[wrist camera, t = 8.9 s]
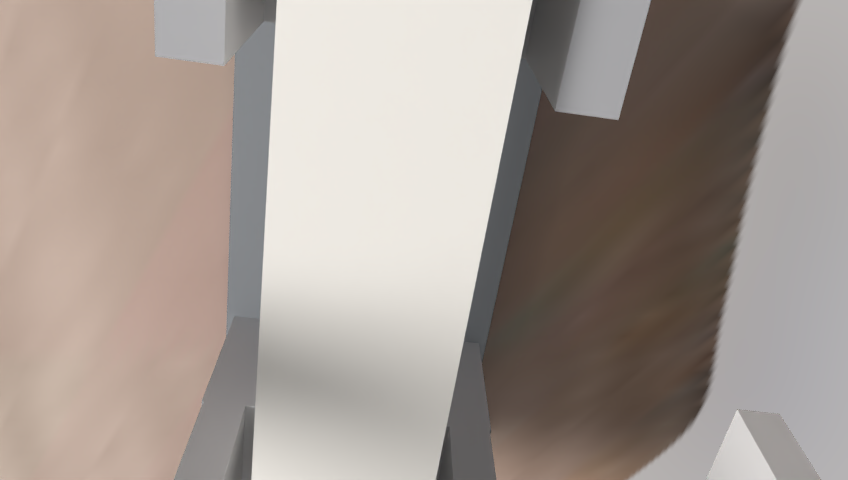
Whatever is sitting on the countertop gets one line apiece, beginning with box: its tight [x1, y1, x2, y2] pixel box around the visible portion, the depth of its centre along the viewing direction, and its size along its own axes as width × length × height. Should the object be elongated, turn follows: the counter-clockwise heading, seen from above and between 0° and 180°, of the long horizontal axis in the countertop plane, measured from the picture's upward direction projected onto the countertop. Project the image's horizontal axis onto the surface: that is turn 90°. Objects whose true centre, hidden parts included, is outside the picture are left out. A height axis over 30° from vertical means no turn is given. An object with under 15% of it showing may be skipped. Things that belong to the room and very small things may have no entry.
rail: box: [251, 0, 533, 480], centre depth 18 cm, size 18×4×5 cm, turn 172°
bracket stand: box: [154, 0, 651, 480], centre depth 20 cm, size 20×9×10 cm, turn 172°
